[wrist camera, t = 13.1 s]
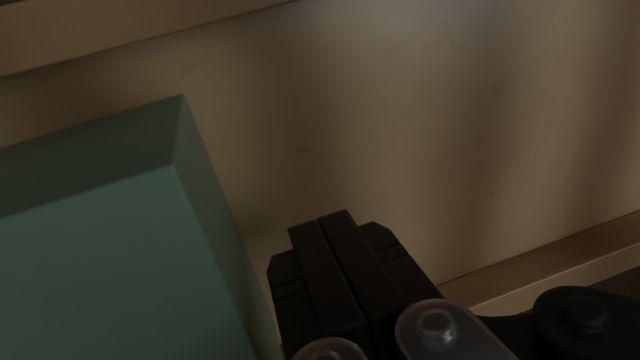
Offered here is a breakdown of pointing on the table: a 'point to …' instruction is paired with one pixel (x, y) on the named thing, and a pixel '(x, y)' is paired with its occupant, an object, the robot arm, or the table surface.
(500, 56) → the tray
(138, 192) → the green rectangular block
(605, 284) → the table surface
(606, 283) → the table surface
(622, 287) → the table surface
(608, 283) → the table surface
